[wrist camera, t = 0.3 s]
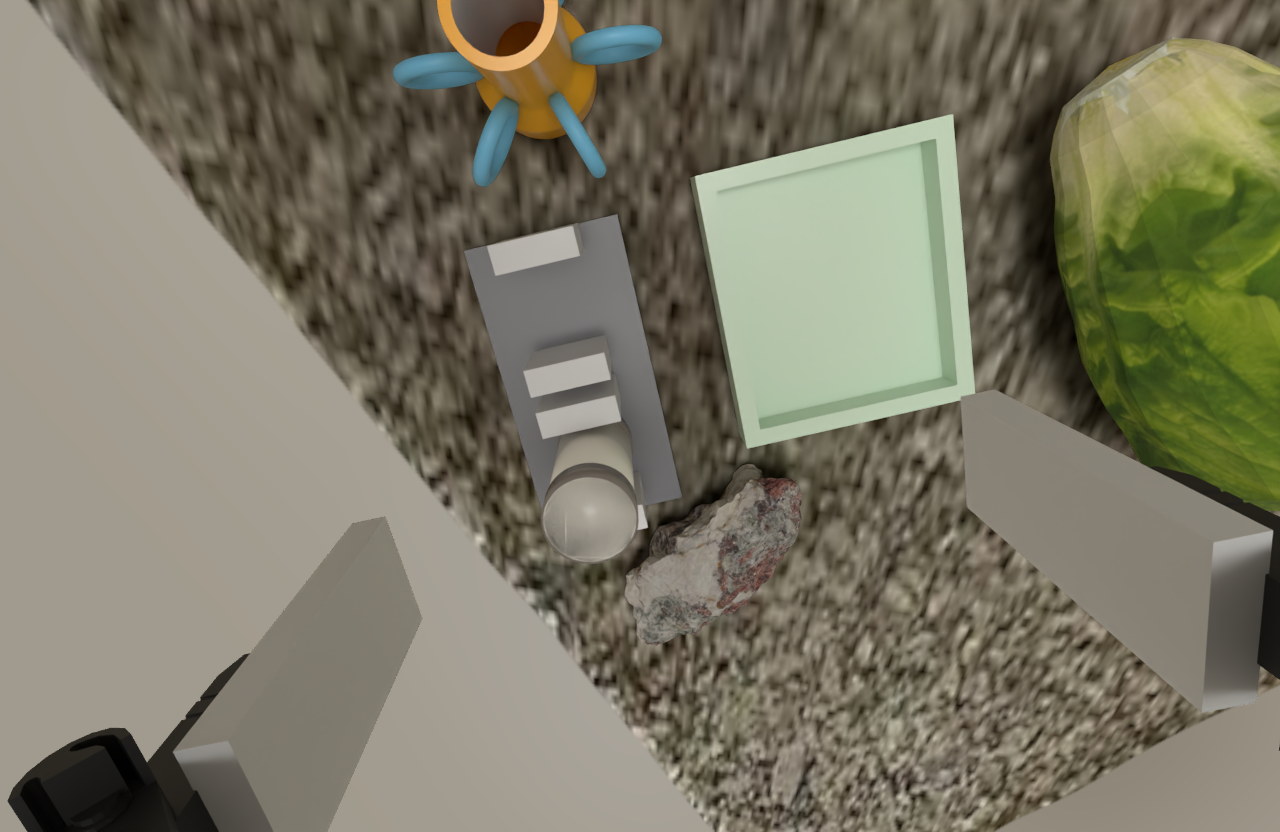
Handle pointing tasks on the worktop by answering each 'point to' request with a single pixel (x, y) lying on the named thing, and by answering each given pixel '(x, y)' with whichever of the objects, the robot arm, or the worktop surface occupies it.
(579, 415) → the panel
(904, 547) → the worktop surface
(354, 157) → the worktop surface
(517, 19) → the orange and blue piece
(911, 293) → the tray
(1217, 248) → the lettuce
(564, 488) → the cylinder
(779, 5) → the worktop surface
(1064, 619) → the worktop surface
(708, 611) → the mineral rock
